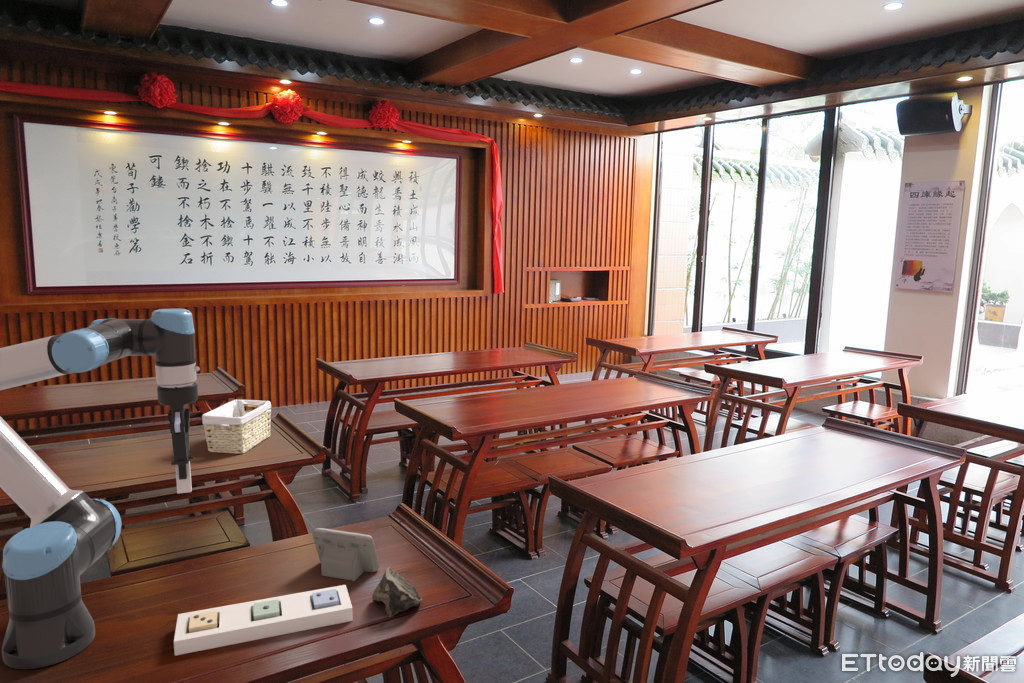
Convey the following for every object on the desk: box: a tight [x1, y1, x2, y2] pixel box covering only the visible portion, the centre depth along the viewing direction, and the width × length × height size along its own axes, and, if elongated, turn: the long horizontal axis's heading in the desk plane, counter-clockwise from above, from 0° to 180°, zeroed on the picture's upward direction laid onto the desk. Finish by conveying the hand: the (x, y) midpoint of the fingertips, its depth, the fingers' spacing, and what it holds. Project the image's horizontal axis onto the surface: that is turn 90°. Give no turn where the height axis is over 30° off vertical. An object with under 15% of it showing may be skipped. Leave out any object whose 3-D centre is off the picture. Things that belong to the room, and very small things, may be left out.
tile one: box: [253, 599, 281, 621], centre depth 140 cm, size 5×5×4 cm
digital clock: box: [312, 527, 380, 582], centre depth 162 cm, size 16×9×11 cm, turn 63°
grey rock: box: [371, 566, 423, 618], centre depth 148 cm, size 11×9×10 cm
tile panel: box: [173, 584, 354, 656], centre depth 141 cm, size 34×10×3 cm, turn 112°
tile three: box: [189, 610, 219, 633], centre depth 136 cm, size 5×5×4 cm
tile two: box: [312, 589, 339, 610], centre depth 145 cm, size 5×5×4 cm
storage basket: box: [201, 398, 272, 455], centre depth 255 cm, size 24×16×15 cm
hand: (184, 491), depth 143 cm, fingers closed
